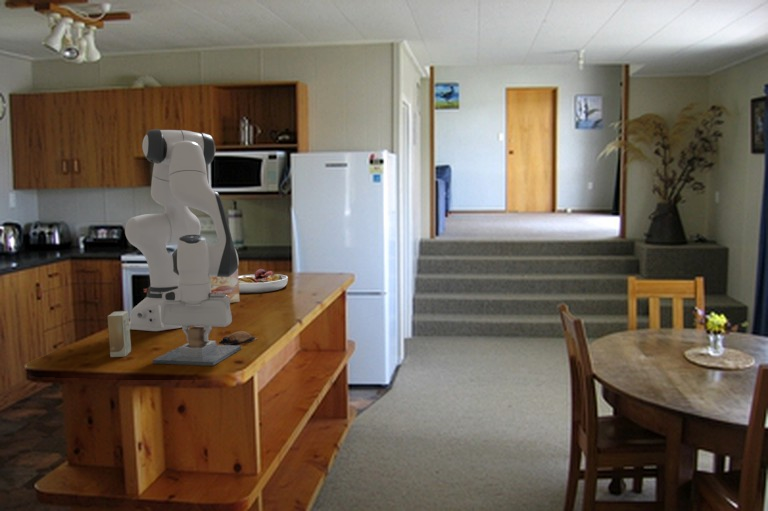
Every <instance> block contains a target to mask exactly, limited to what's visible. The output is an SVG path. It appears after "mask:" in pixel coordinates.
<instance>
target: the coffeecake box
mask: <svg viewBox="0 0 768 511" xmlns="http://www.w3.org/2000/svg"><path fill="white" fill-rule="evenodd" d="M238 276H239V268H238V269H237V270H236V271H235V272H234V273H233V274H232V275H231V276H229V277H217V276H213V277H210V280H211V293H217V294H220V293H223V294H225V295H227V296H228V297H229V298H230V304H232V303H233V304H234V303H239V302H240V293H239V279H238ZM225 297H226V296H225Z"/></svg>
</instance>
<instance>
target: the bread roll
mask: <svg viewBox="0 0 768 511" xmlns="http://www.w3.org/2000/svg"><path fill="white" fill-rule="evenodd" d="M254 341H258V338H257V337H254V336H253V335H251V334H250V333H249V332H247V331H245V330H244V331H243V330H239V331H235V332H232V333H231V334H230V335H228V336H223V338H222V340H221V341H219V342H218V345H233V346H242V345H244V344H248V343H252V342H254Z"/></svg>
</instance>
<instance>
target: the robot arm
mask: <svg viewBox="0 0 768 511" xmlns="http://www.w3.org/2000/svg"><path fill="white" fill-rule="evenodd" d="M141 147H142V151H143V156H144V157H145V159H147V161H148V162H151V163H153V168H152V176H151V185H150V186H151V187H150V196H151V199H153V201H154V202H155V203H156V204H158V205H160V206H162V207H164V212H162V213H147V214H141V215H140V214H139V215H137V216H133V217H130V218H129V219H128V220H127V222H126V224H125V228H124V234H125V237H126V239H127V241H128V243H129V244H130V245H132V246H133V247H135V248H137V250H138V251H140V252H141V253H142V255H143V256H144V259H145V261H146V263H147V265H148V272H149V281H150V285H149V286H148V287H147V288H143V293H146V294H145V295H146V296H145V297H144V299H143V300H141V301H140V302H139V303H137V305H135V306H134V307H133V308H132V309H131V311H130V315H129V327H130V330H136V331H148V332H160V331H166V330H174V329H175V330H176V329H180V328H182V331H183V333H184V334H185V336H186V341H187V342H189V341H188V329H190V328H191V327H195V326H204V330H206V331H205V333H204V335H202V336H201V341H202V342H207V341H208V340H209V335H210V333H211V331H212V329H213V327H215V328H216V327H218V328H219V327H222V328H224V327H225V328H226V327H228V326H229V325H230V324H231V323H232V321H233V317H232V310H231V303H230V298H229V297H228V296H227V295H225V294H223V293H220V294H217V293H211V280H210V277H213V276H217V277H229V276H231V275H232V274H233V273H234V272H235V271H236V270H237V269H238V270H239V262H240V261H239V255H238V252H237V249H236V247H235V244H234V240H233V237H232V233H231V230H230V227H229V222H228V218H227V213H226V210H225V208H224V207H225V206H224V204H223V201H222V198H221V196H220V194H219V192H217V191H215V190H213V188H212V187H211V185H210V184H209V180H208V172H207V171H208V170H207V166H208V165H210V164H211V163H213V161H214V158H215V154H216V144H215V140H214V139H213V137H212V135H210V134H208V133H204V132H196V131H191V130H184V129H179V130H178V129H160V128H156V129H155V128H154V129H149V130H148V131H147V132H146V133H145V135H144V137H143V140H142V146H141ZM191 209H195V210H198V211H199V212H202V213H205V214H206V215H208V217H209V216H210V218H211V219H212V222H213V224H214V225H213V226H214V229H215V234H216V236H217V237H216V238H217V240H218V241H217V242H216V243H207V238H206V237H205V236H203V235H201V232H202V227H201V226H202V225H201V222H200V219H199V218H198V217H197V215H196V214H194V213H193V212H192V211H191ZM174 245H177V248H176V249H175V250H174V251H173V253H172V254H170V253H169V252H168V248H167V246H174ZM225 296H226V297H225Z"/></svg>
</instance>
